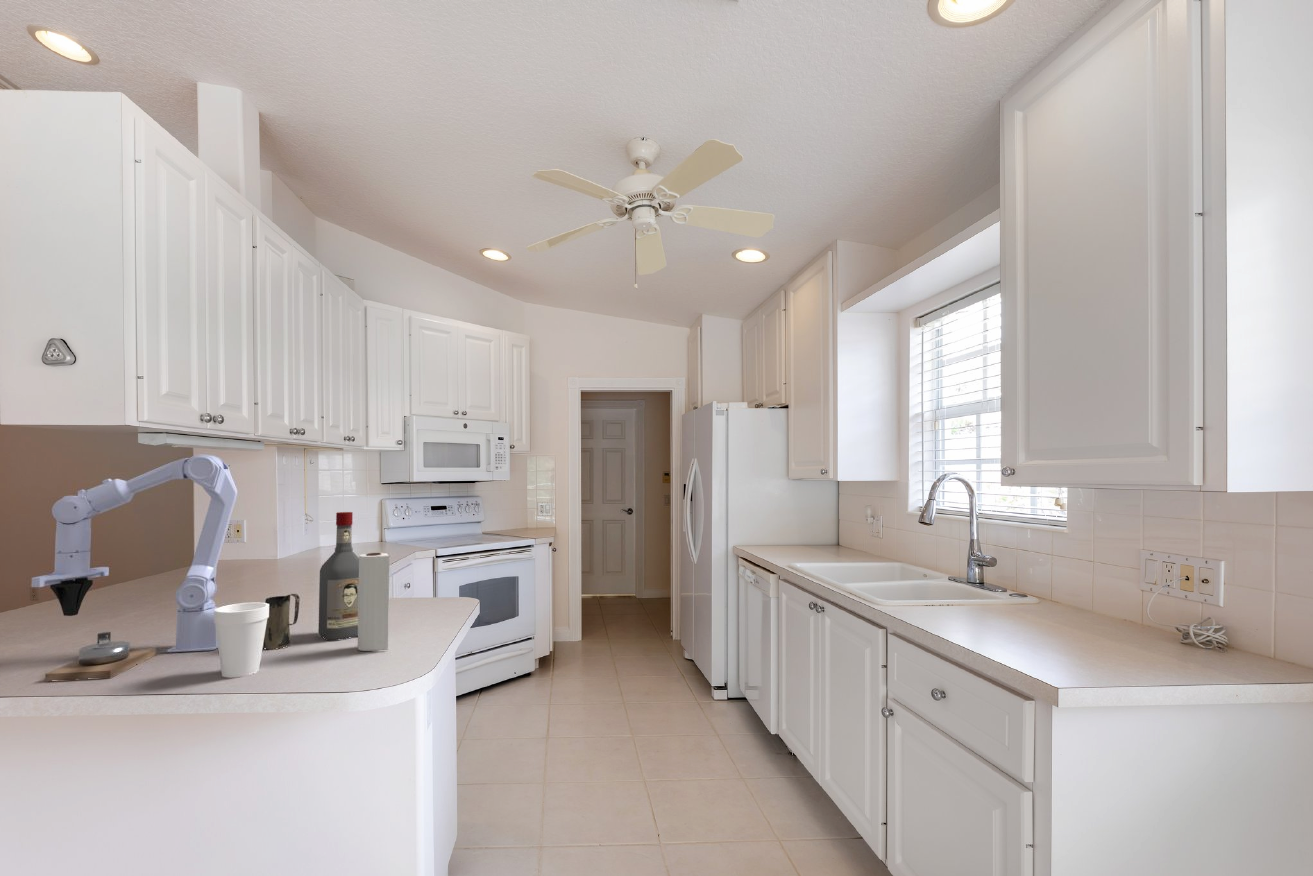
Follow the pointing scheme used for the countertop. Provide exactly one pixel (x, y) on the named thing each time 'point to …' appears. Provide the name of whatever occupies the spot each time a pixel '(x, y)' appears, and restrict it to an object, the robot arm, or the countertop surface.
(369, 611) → the paper towel roll
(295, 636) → the countertop surface
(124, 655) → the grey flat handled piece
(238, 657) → the foam cup
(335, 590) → the liquor
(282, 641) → the mug
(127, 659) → the wooden board
